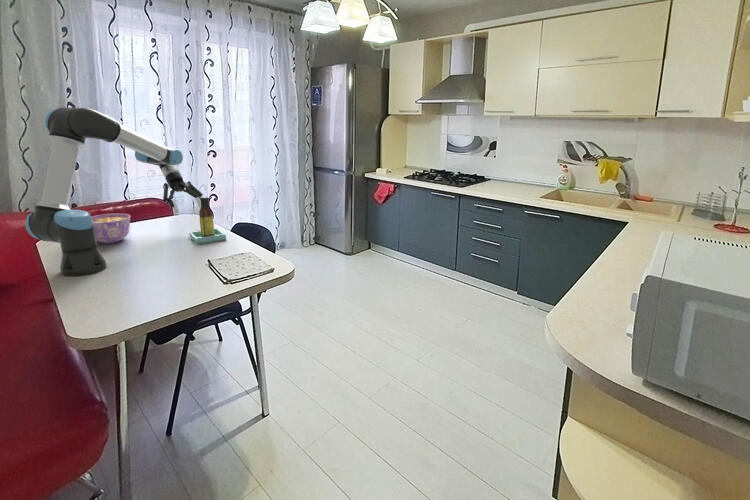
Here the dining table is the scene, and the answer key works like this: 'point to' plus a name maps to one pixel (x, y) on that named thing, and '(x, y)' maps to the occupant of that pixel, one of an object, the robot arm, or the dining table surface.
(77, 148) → the robot arm
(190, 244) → the dining table surface
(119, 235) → the bowl of food
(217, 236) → the tray
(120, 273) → the dining table surface
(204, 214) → the sauce bottle
